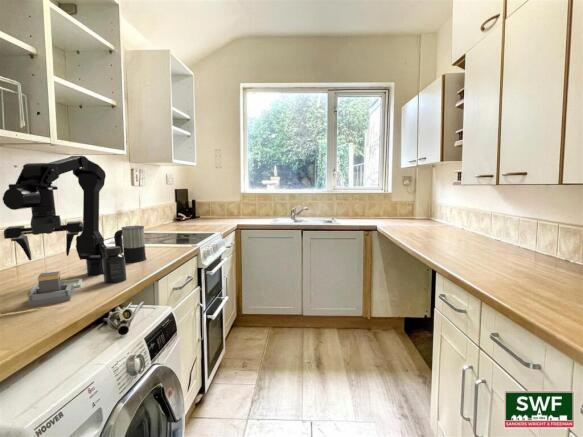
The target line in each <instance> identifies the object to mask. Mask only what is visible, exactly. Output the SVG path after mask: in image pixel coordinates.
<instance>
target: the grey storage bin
mask: <svg viewBox="0 0 583 437" xmlns="http://www.w3.org/2000/svg"><path fill="white" fill-rule="evenodd" d="M63 281H64V279H61V289H62V291H55V292H48V293H41V294H40V291H39V288H35V289H33V290H32V289H31V290H32V291H31V290H30V291H31V293H30V292H29V294H28V296H27V298H28V299H27V300H28V301H27V307H28V308H31V307H32V308H33V307H36V306H37V307H38V306H43V305H44V306H45V305H50V304H55V303H63V302H69V301H71V299H72V296H73V293H74V290H75V288H74V284H73V285H71V284H64V282H63Z"/></svg>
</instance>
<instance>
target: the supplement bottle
mask: <svg viewBox="0 0 583 437" xmlns="http://www.w3.org/2000/svg"><path fill="white" fill-rule="evenodd" d="M106 247H107V248H105V254H106V256H104V257H103V259H102V264H103V282H104V284H107V285H108V284H110V285H111V284H112V285H113V284H118V283H122V282H125V281H127V268H126V267H127V266H126V262H125V257H124V254H123V253H122V254H120V252H121V247H119V246H106Z"/></svg>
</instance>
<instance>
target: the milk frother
mask: <svg viewBox="0 0 583 437" xmlns="http://www.w3.org/2000/svg"><path fill="white" fill-rule="evenodd" d="M113 238H114V245H115V246H119V247H121V252H120V254H122V255H124V257H125V263H139V262H140V263H141V262H142V261H145V260H147V257H146V256H147V255H146V245H145V243H146V242H145V226H144V225H127V226H122V227H120V229H119V230H117V231H115V233H114V236H113ZM115 246H114V247H115Z"/></svg>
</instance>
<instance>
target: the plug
mask: <svg viewBox="0 0 583 437" xmlns="http://www.w3.org/2000/svg"><path fill="white" fill-rule="evenodd" d="M61 280H62V279H61V271H60V270H59V271H57V270H56V271H50V272H49V271H48V272H43V273H42V272H41V273H40V274H39V275H38V276H37V281H38V284H39V291H40V294H41V293H48V292H55V291H62V289H61Z"/></svg>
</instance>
